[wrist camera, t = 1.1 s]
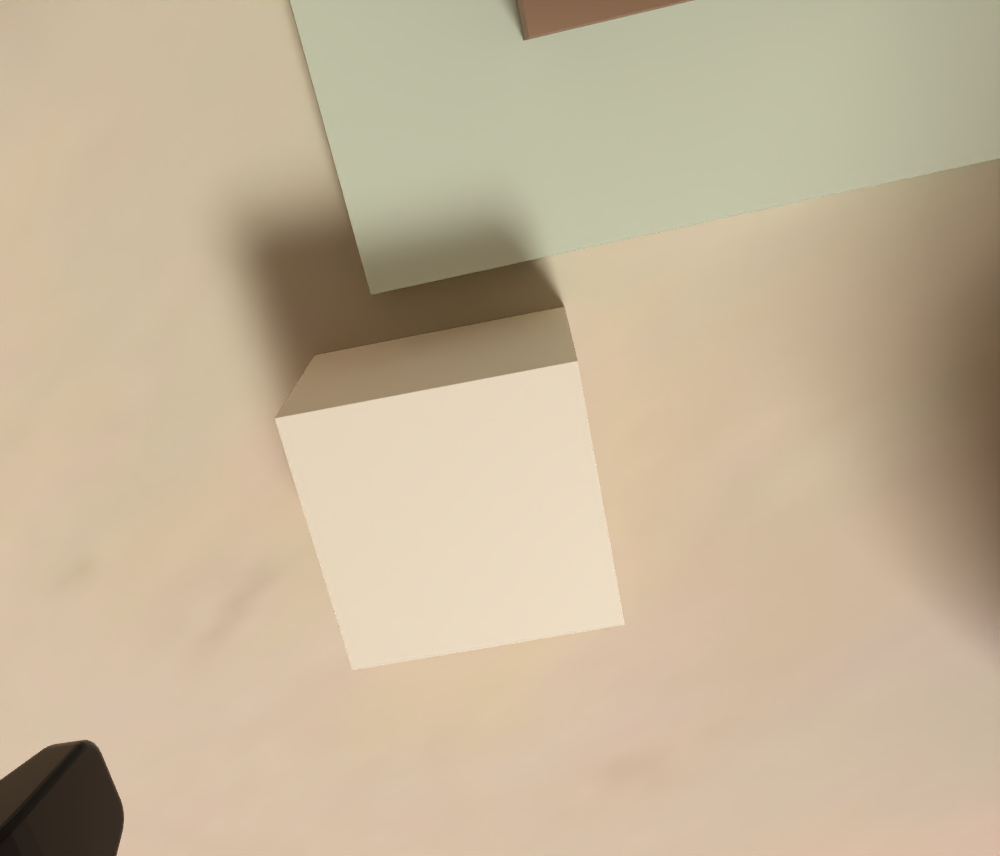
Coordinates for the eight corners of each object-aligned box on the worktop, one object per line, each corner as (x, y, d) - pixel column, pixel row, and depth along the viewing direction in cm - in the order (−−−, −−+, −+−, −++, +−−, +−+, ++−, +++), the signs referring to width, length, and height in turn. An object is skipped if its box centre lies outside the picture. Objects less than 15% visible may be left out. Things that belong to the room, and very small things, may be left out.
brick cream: (604, 528, 22) (624, 624, 18) (377, 569, 23) (352, 669, 19) (564, 304, 20) (577, 361, 17) (316, 352, 21) (274, 418, 17)
